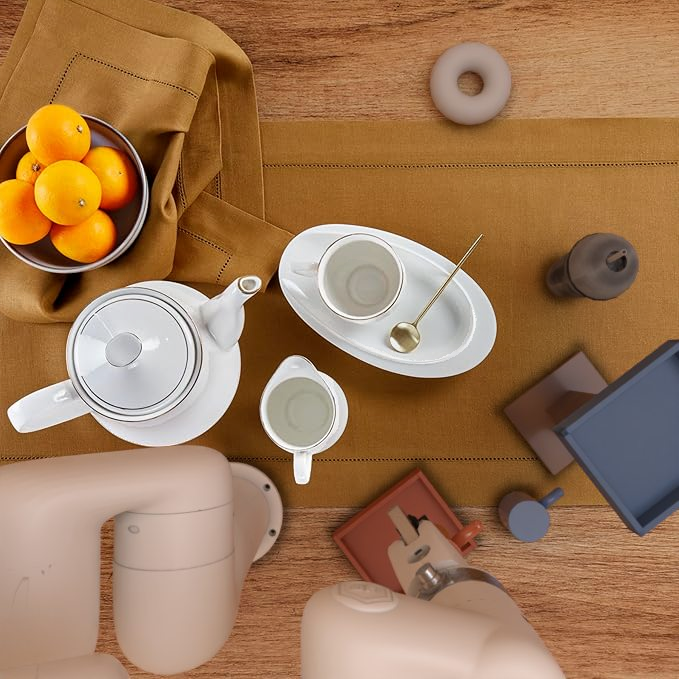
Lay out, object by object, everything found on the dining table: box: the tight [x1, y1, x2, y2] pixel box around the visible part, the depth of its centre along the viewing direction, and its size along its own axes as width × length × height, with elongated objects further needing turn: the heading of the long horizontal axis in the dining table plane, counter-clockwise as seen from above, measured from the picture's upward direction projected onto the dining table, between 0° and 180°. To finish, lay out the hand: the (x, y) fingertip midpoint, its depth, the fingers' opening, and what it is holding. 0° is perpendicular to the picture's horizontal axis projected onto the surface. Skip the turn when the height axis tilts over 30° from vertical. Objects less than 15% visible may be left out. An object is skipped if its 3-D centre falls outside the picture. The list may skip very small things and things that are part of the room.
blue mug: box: [497, 486, 565, 543], centre depth 77 cm, size 8×5×5 cm, turn 127°
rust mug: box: [433, 519, 484, 559], centre depth 63 cm, size 8×5×5 cm, turn 128°
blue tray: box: [552, 338, 679, 538], centre depth 57 cm, size 13×11×2 cm
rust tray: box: [332, 466, 479, 595], centre depth 78 cm, size 13×11×2 cm
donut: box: [429, 41, 513, 126], centre depth 79 cm, size 10×4×10 cm
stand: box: [501, 350, 610, 477], centre depth 69 cm, size 12×10×22 cm
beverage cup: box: [545, 232, 640, 302], centre depth 70 cm, size 7×7×20 cm
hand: (431, 548), depth 65 cm, fingers closed on rust mug, 4 cm apart
